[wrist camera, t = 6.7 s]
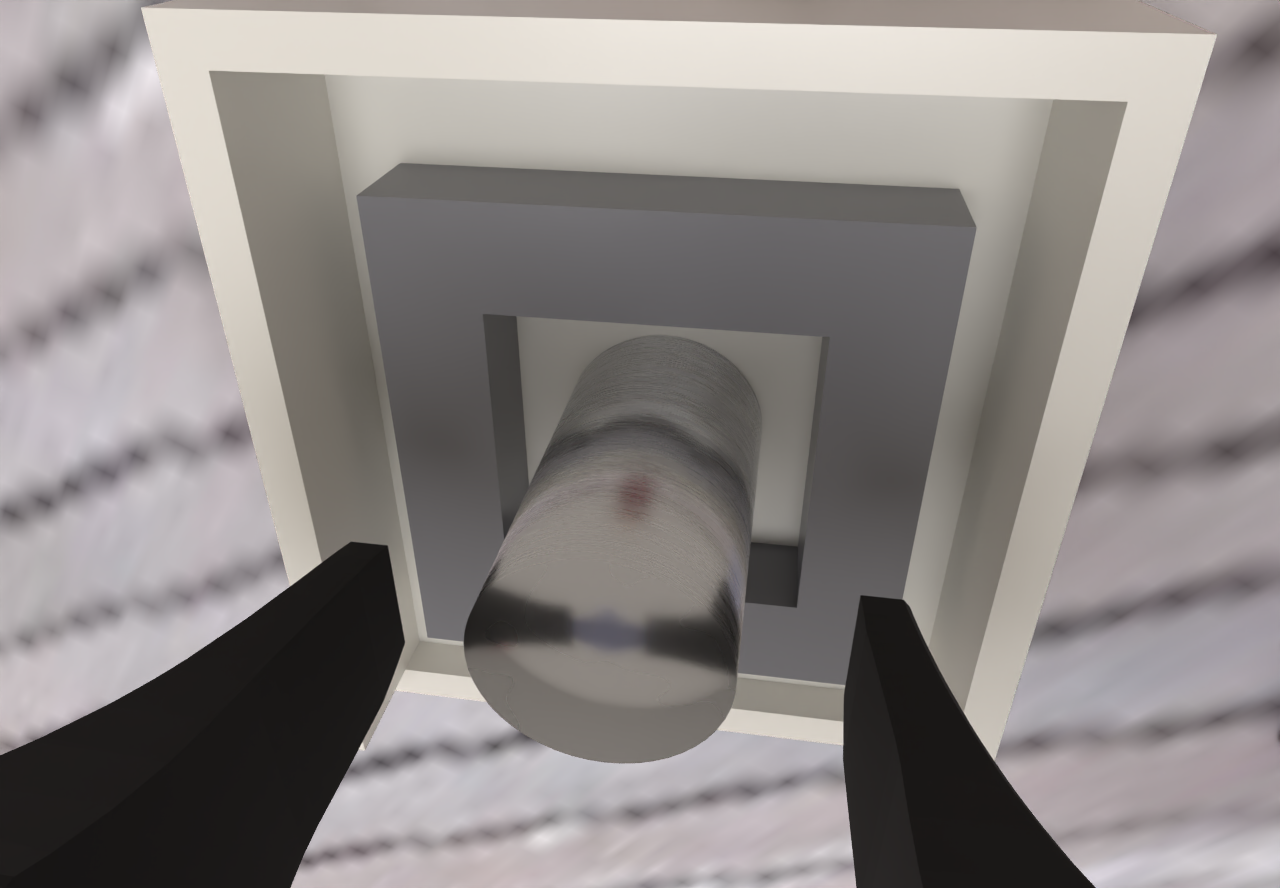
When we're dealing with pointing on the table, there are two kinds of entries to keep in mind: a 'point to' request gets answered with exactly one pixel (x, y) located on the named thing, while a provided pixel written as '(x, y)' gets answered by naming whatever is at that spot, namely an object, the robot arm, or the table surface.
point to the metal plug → (627, 560)
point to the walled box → (688, 283)
